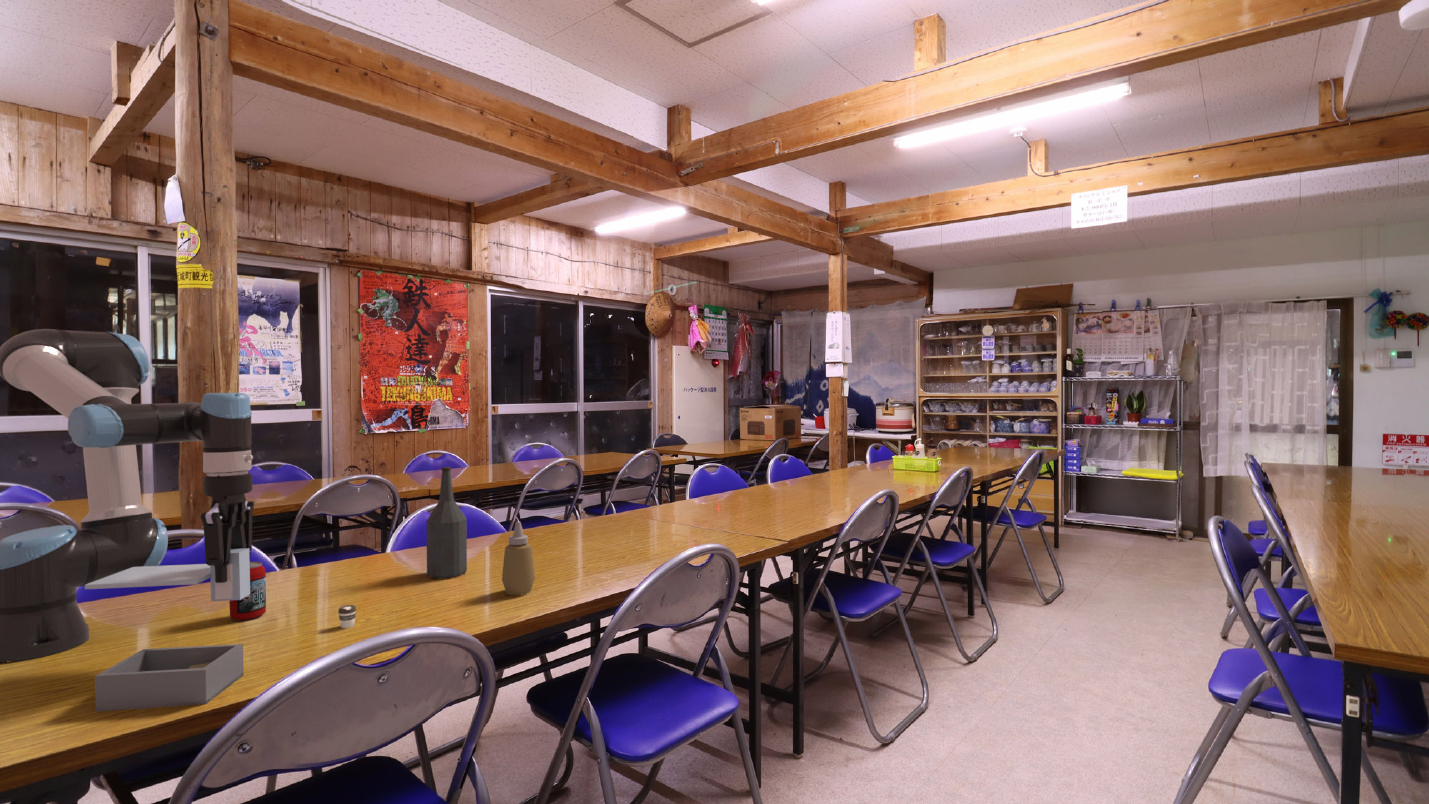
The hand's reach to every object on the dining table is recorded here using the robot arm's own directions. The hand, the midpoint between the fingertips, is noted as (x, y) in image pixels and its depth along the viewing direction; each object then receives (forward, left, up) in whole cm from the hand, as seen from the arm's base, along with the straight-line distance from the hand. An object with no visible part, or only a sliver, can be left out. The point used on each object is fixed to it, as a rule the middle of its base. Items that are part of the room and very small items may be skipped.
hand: (230, 594), depth 127 cm
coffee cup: (+16, +14, -13) cm, 24 cm away
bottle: (+27, +53, -12) cm, 61 cm away
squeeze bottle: (+49, +33, -12) cm, 60 cm away
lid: (-12, 0, +4) cm, 12 cm away
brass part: (+2, -14, -11) cm, 18 cm away
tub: (-1, -15, -12) cm, 19 cm away
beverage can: (-9, +24, -12) cm, 29 cm away
